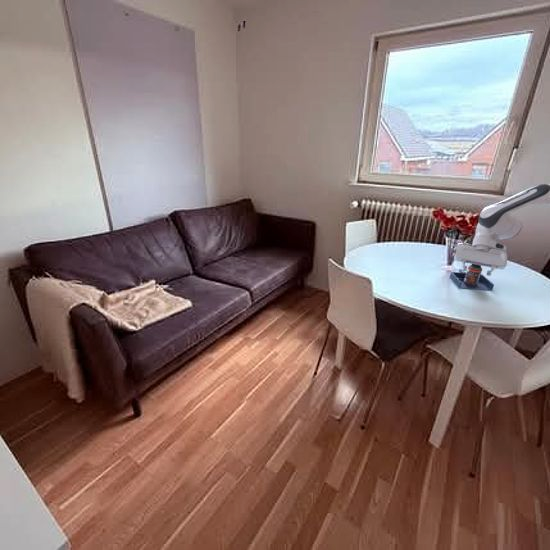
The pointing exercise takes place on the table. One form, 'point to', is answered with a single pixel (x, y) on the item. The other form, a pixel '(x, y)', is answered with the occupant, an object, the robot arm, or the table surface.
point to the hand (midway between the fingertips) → (476, 272)
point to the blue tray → (481, 285)
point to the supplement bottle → (473, 275)
